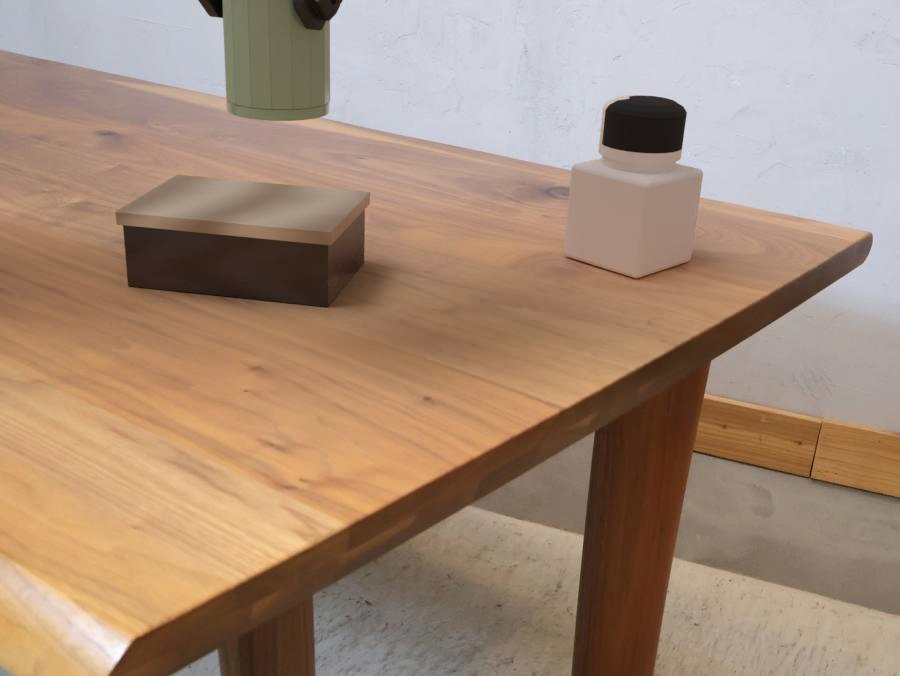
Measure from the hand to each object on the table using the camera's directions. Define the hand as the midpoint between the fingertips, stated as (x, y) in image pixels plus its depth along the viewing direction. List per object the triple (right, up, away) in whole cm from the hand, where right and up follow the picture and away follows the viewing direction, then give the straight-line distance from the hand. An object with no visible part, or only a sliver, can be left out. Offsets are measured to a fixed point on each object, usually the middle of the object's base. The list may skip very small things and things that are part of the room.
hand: (256, 12), depth 60 cm
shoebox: (-4, -10, +22) cm, 24 cm away
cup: (+1, -4, +4) cm, 6 cm away
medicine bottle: (+24, -8, +29) cm, 38 cm away
